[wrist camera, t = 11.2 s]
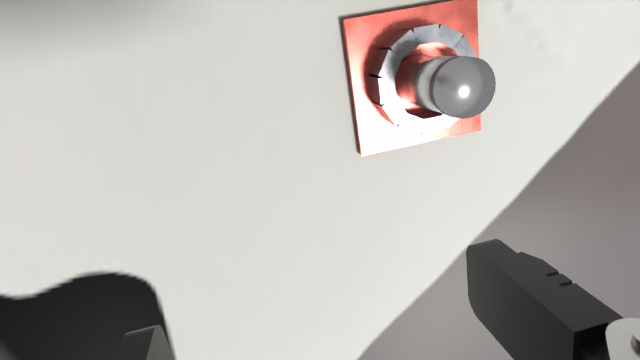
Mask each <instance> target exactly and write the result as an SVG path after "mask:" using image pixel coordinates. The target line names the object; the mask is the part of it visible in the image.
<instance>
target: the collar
mask: <svg viewBox="0 0 640 360" xmlns="http://www.w3.org/2000/svg"><path fill="white" fill-rule="evenodd" d="M342 27H343V35H344V42H345V50H346V57H347V64H348V72H349V79H350V87H351V94H352V101H353V109H354V116H355V124H356V131H357V138H358V146H359V153H360V154H361V155H362V156H364V155H369V154H373V153H378V152H382V151H387V150H392V149H396V148H401V147H405V146H410V145H415V144H419V143H424V142H428V141H433V140H438V139H442V138H447V137H451V136H456V135H461V134H465V133H470V132H474V131H479V130H481V125H480V114H478V115H477V116H475V117H472V118H468V119H460V118H456V117H451V116H447V115H445V114H442V113H440V112H436V111H433V110H430V109H427V108H423V107H420V106H417V105H413V104H410V103H407V102H405V101H404V100H403V99H401V97H400V96H399V95H398V93H397V91H396V88H395V76H396V73H397V71H398V68H399V67H400V65H401V64H402V63H403V62H404V61H405V60H406V59H408V58H410V57H412V56H416V55H427V56H468V57H477V58H479V55H478V19H477V0H454V1H448V2H442V3H436V4H431V5H425V6H419V7H413V8H408V9H402V10H396V11H390V12H384V13H379V14H373V15H367V16H361V17H356V18H350V19H344V20H342Z"/></svg>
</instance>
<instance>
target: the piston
mask: <svg viewBox="0 0 640 360" xmlns="http://www.w3.org/2000/svg"><path fill="white" fill-rule="evenodd" d="M495 84H496V82H495V76H494V73H493V70H492V68H491V67H490V66H489V64H488V63H487V62H485V61H484V60H482V59H480V58H477V57H468V56H427V55H416V56H412V57H410V58H408V59H406V60H405V61H404V62H403V63H402V64H401V65H400V67H399V68H398V71H397V73H396V76H395V88H396V91H397V93H398V95H399V96H400V97H401V99H403V100H404V101H405V102H407V103H410V104H413V105H417V106H420V107H423V108H427V109H430V110H433V111H436V112H440V113H442V114H445V115H447V116H451V117H456V118H460V119H468V118H472V117H475V116H477V115H478V114H480V113H481V112H483V111H484V110H485V109H486V108H487V106H488V105H489V104H490V102H491V100H492V98H493V95H494V92H495Z"/></svg>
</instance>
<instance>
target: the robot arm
mask: <svg viewBox="0 0 640 360" xmlns="http://www.w3.org/2000/svg"><path fill="white" fill-rule="evenodd" d="M466 256H467V279H468V296H469V301H470V304H471V307H472V309H473V311H474V313H475V315H476V316H477V318H478V319H479V320H480V321H481V322H482V324H483V325H484V326H485V327H486V328H487V329H488V330H489V332H490V333H491V334H492V335H493V336H494V337H495V338H496V340H497V341H498V342H499V343H500V344H501V345H502V346H503V347H504V349H505V350H506V351H507V352H508V353H509V354H510V356H511V357H512V358H513V359H514V360H640V318H623V317H621V316H620V315H619V314H617V313H616V312H615V311H613V310H612V309H610V308H609V307H608V306H606V305H605V304H603V303H602V302H601V301H599V300H598V299H596V298H595V297H594V296H592V295H591V294H589V293H588V292H587V291H585V290H584V289H582V288H581V287H580V286H578V285H577V284H573V283H572V281H571V280H570V279H568V278H567V277H566V276H564V275H563V274H559V272H558V271H557V270H556V269H554V268H553V267H552V266H550V265H549V264H547V263H546V262H545V261H543V260H541V259H539V258H536V257H533V256H531V255H528V254H526V253H523V252H520V253H516V252H515V251H513V250H512V249H511V248H509V247H508V246H507V245H506V244H504V243H503V242H502V241H500V240H498V239H494V240H490V241H485V242H482V243H478V244H474V245H470V246H468V248H467V252H466ZM111 360H174V358H173V356H172V353H171V350H170V347H169V345H168V342H167V339H166V337H165V334H164V331H163V329H162V328H161V326H160V325H156V326H152V327H148V328H144V329H140V330H136V331H132V332H128V333H126V334H125V335H124V337H123V340H122V342H121V345H120V348H119V350H118V353H117V356H116V358H114V359H111Z"/></svg>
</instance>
